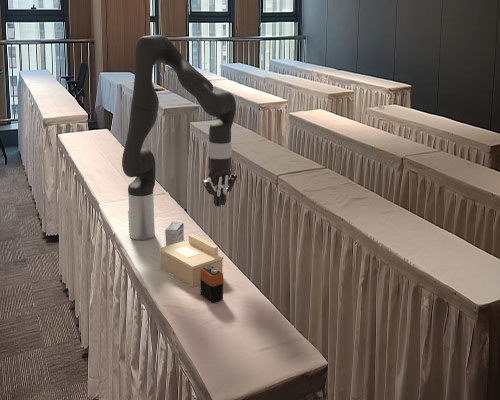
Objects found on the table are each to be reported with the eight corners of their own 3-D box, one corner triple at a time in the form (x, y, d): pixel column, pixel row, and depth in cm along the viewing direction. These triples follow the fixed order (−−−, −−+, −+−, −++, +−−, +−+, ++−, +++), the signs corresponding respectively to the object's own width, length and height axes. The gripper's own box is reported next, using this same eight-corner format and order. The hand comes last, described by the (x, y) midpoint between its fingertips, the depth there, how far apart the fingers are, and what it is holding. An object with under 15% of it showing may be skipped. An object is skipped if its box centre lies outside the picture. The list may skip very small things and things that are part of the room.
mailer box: (160, 268, 211) (160, 251, 209) (189, 258, 219) (189, 243, 217) (192, 287, 199) (192, 270, 197) (222, 276, 206) (222, 260, 204)
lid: (159, 251, 209) (159, 240, 208) (189, 241, 217) (189, 231, 216) (192, 269, 196) (192, 258, 195) (223, 259, 204) (223, 248, 203)
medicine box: (177, 253, 223) (177, 230, 221) (165, 251, 224) (165, 229, 221) (184, 244, 231) (183, 222, 228) (172, 243, 232) (172, 221, 229)
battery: (211, 303, 189) (211, 273, 185) (199, 294, 194) (199, 265, 191) (223, 300, 191) (223, 270, 188) (212, 291, 196) (212, 262, 193)
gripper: (228, 149, 211) (228, 198, 216) (196, 155, 202) (196, 206, 208) (243, 153, 205) (242, 204, 211) (210, 160, 197) (210, 212, 202)
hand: (219, 205), depth 209 cm, fingers closed
